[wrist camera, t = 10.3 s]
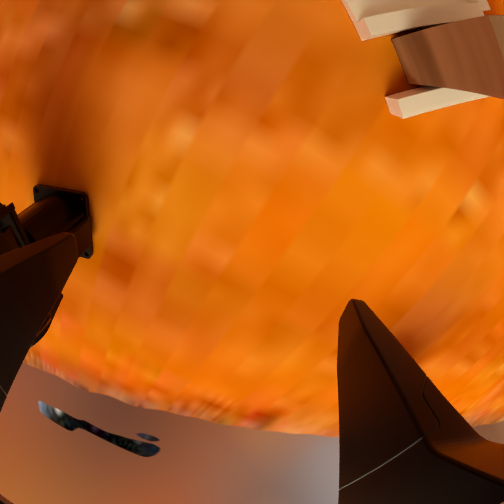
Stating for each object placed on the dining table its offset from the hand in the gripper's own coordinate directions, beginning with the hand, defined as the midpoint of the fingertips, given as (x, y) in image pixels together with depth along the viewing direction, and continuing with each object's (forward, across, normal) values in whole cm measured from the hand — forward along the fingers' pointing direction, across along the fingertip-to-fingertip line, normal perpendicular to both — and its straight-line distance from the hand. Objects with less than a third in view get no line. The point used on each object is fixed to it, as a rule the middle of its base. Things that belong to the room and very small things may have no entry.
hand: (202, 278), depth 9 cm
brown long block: (+13, -10, -11) cm, 20 cm away
